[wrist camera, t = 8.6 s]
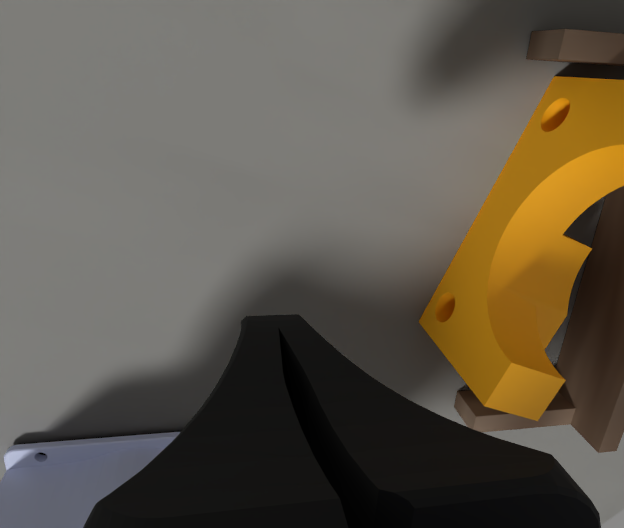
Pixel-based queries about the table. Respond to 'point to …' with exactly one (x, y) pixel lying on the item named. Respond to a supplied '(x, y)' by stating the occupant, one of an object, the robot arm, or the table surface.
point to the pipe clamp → (529, 248)
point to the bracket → (582, 297)
